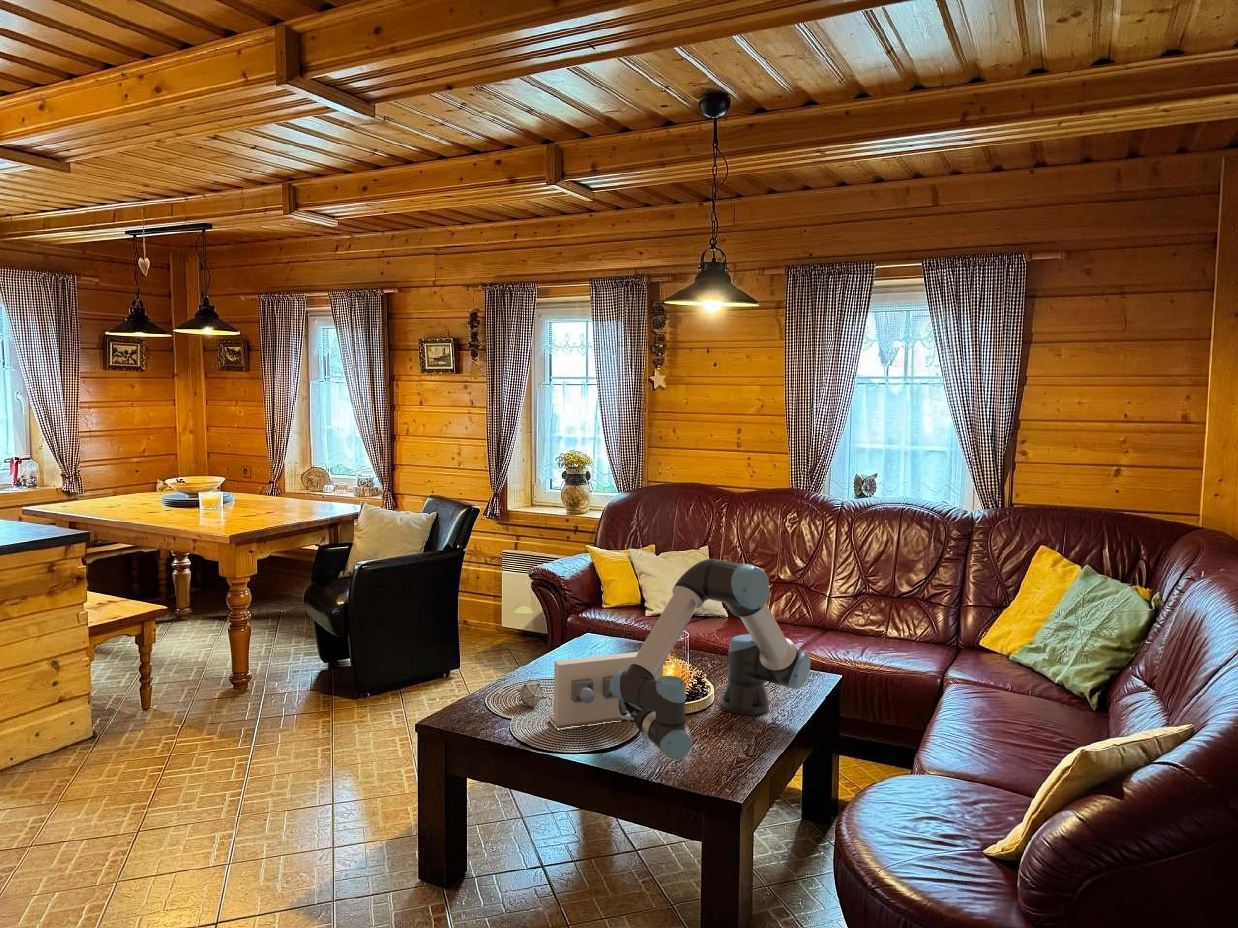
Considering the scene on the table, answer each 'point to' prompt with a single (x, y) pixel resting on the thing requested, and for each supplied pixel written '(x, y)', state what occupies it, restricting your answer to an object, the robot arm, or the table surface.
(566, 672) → the button panel
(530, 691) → the game die
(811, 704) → the table surface
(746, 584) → the robot arm
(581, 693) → the slate button
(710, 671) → the table surface
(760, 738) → the table surface
